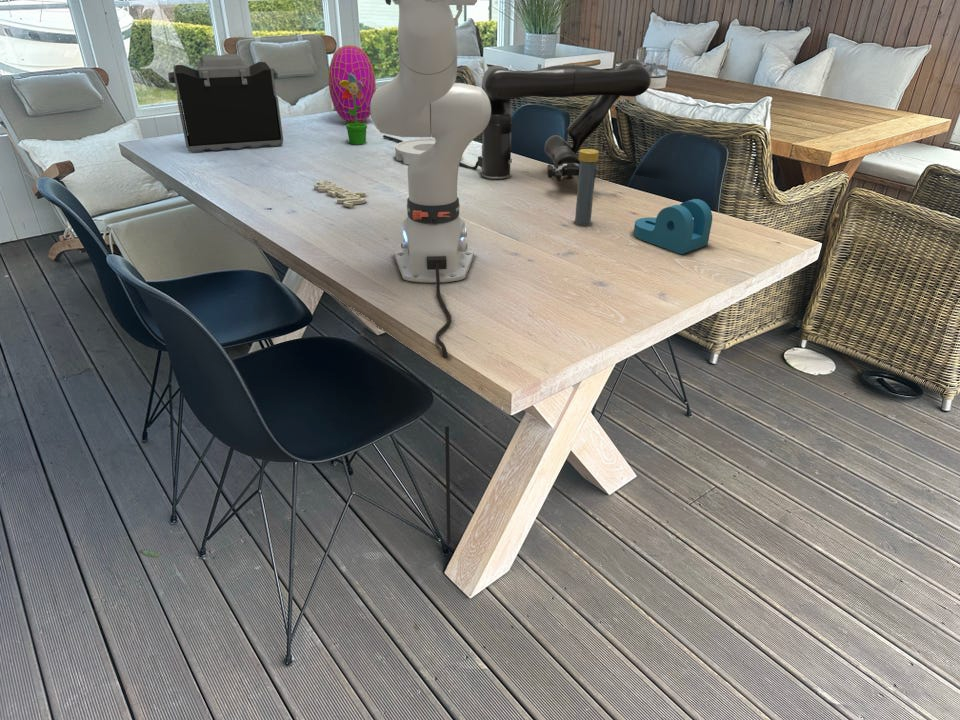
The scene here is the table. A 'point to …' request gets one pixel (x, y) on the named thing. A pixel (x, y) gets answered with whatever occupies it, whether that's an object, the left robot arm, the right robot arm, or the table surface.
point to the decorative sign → (340, 193)
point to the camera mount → (677, 227)
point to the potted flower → (354, 129)
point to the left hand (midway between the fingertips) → (435, 26)
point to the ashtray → (412, 149)
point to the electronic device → (227, 103)
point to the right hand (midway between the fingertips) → (574, 178)
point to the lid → (588, 155)
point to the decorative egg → (340, 66)
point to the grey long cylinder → (585, 193)
